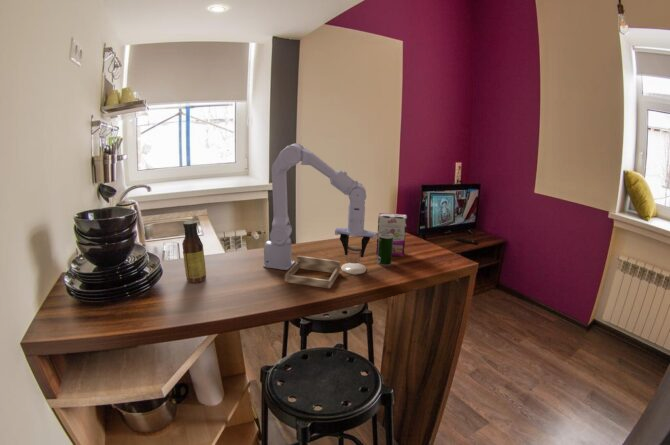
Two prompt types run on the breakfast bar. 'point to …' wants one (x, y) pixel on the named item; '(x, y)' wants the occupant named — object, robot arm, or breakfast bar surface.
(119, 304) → the breakfast bar surface
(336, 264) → the frame
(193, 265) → the sauce bottle
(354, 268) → the coaster
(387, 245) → the beer can
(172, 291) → the breakfast bar surface
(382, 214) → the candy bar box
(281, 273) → the breakfast bar surface
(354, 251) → the flower pot
